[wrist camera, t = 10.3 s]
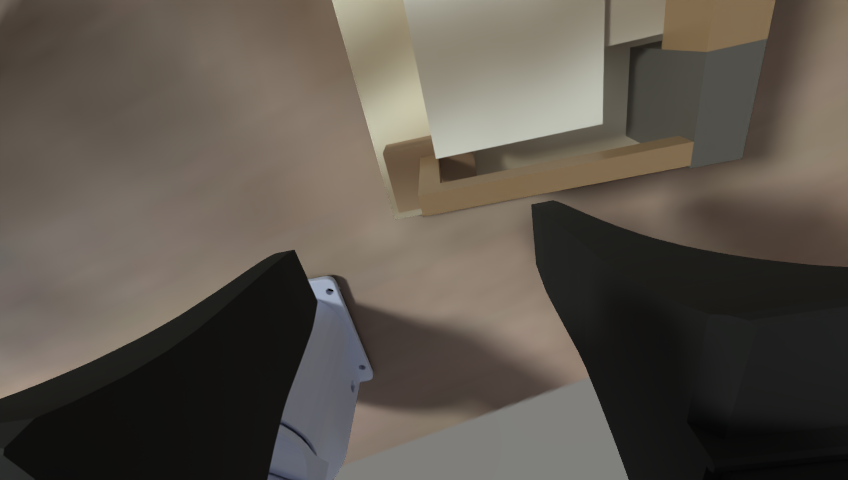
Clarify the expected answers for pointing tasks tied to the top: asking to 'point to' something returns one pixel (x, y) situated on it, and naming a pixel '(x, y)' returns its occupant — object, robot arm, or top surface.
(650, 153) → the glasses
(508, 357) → the top surface
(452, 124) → the stand
